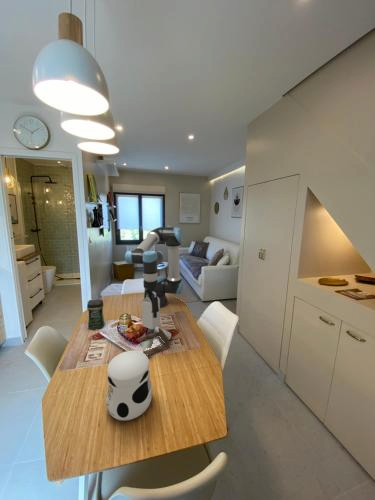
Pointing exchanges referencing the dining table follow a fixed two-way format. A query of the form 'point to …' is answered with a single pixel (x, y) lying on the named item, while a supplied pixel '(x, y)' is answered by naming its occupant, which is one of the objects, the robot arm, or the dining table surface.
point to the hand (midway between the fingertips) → (151, 318)
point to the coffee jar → (95, 314)
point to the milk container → (128, 385)
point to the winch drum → (151, 331)
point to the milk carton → (149, 313)
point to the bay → (149, 343)
